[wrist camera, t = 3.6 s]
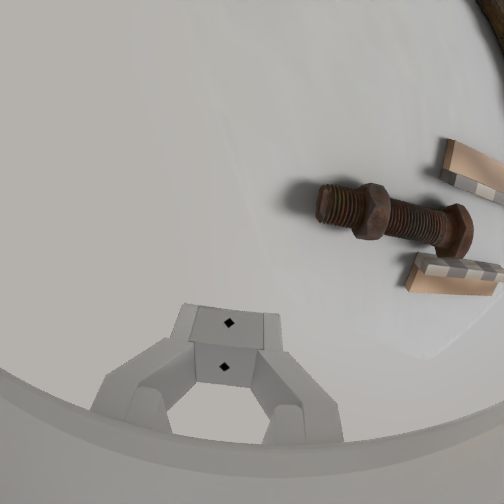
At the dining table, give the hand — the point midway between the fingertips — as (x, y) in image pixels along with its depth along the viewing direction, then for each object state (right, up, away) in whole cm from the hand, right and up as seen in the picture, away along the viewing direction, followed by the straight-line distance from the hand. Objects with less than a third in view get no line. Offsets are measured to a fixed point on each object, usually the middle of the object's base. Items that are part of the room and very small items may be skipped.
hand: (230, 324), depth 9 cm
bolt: (+14, +6, +15) cm, 21 cm away
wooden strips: (+26, +5, +15) cm, 31 cm away
